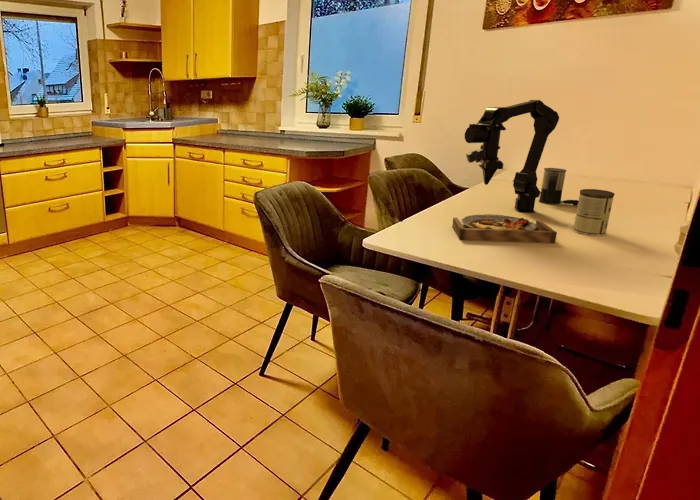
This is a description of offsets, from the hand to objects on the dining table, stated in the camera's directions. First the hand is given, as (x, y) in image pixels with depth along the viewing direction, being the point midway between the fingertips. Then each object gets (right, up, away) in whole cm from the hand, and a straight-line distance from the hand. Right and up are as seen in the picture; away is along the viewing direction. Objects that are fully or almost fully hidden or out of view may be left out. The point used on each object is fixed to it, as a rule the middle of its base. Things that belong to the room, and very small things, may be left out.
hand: (485, 184), depth 170 cm
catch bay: (-2, -20, -22) cm, 30 cm away
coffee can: (+31, -19, -16) cm, 40 cm away
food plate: (0, -18, -13) cm, 22 cm away
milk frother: (+40, -5, +25) cm, 47 cm away
